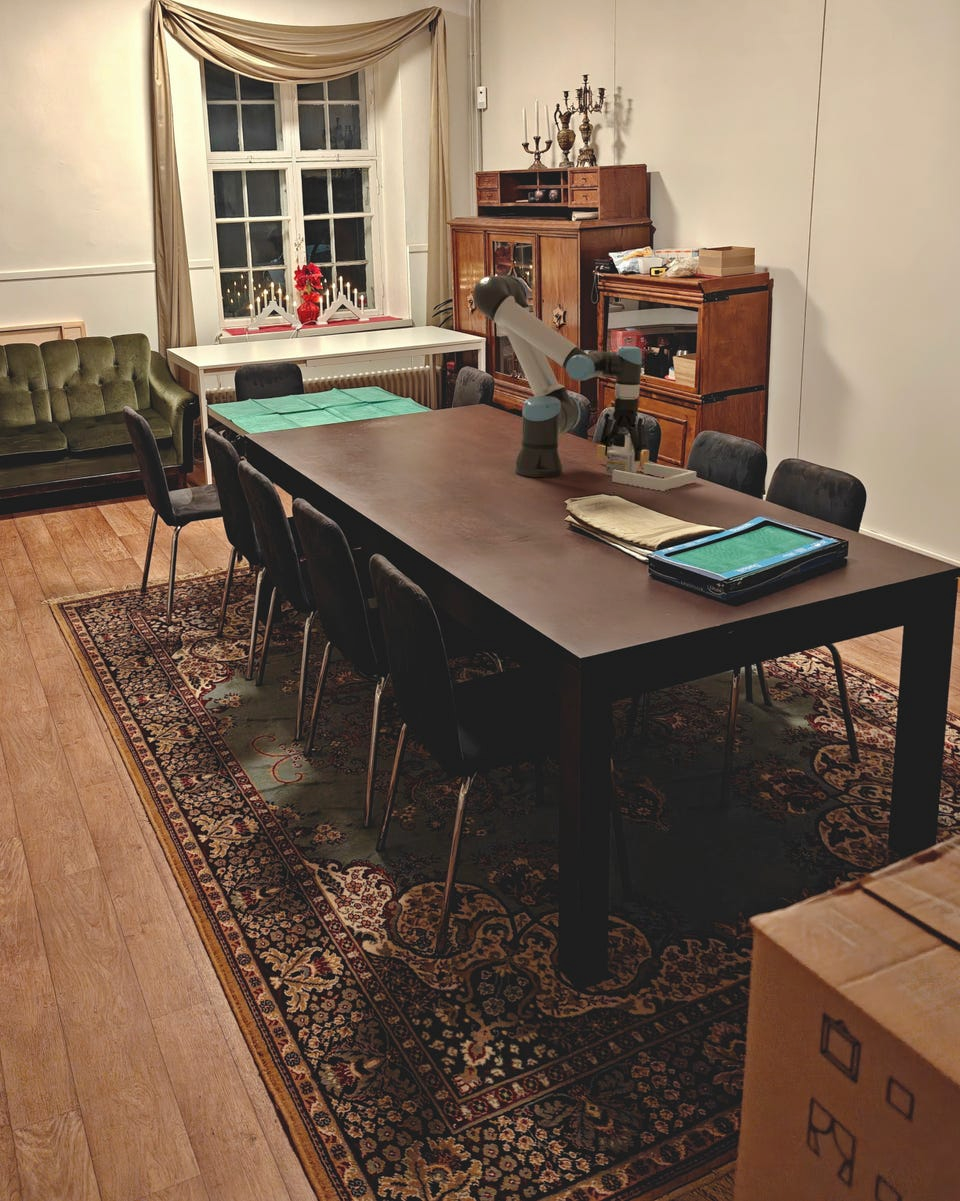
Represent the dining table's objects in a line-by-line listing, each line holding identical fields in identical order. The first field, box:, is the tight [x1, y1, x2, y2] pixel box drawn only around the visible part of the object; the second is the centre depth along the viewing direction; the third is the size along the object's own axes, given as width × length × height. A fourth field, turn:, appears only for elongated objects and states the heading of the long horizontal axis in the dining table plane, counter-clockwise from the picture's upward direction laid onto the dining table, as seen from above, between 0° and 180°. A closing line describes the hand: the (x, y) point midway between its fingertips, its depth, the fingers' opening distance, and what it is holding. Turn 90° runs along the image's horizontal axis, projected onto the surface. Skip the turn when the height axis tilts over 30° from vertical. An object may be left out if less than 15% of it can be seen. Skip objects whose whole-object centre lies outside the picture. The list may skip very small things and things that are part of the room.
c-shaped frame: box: [611, 462, 698, 492], centre depth 354 cm, size 19×18×4 cm
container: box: [605, 432, 638, 477], centre depth 362 cm, size 8×8×13 cm
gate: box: [596, 444, 650, 469], centre depth 373 cm, size 20×2×6 cm, turn 49°
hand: (621, 468), depth 363 cm, fingers closed on container, 9 cm apart
